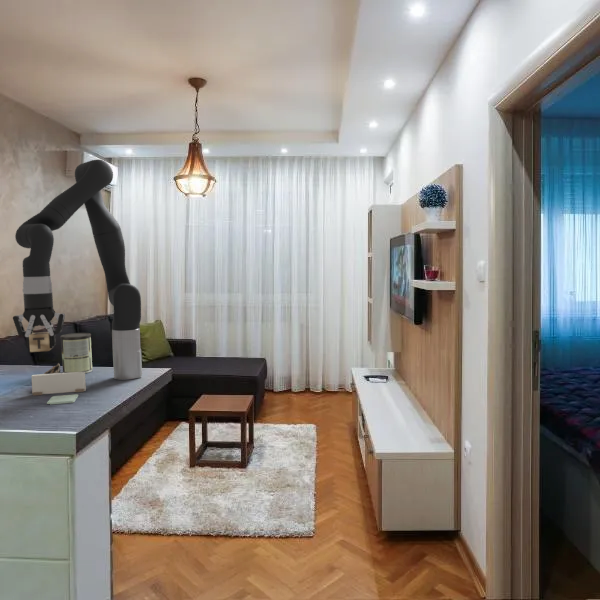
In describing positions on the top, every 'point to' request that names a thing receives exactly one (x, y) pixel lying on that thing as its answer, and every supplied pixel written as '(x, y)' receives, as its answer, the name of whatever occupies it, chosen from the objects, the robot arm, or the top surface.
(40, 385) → the screen
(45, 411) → the top surface
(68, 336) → the coffee can
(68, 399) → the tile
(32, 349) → the letter cube
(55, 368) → the rock
